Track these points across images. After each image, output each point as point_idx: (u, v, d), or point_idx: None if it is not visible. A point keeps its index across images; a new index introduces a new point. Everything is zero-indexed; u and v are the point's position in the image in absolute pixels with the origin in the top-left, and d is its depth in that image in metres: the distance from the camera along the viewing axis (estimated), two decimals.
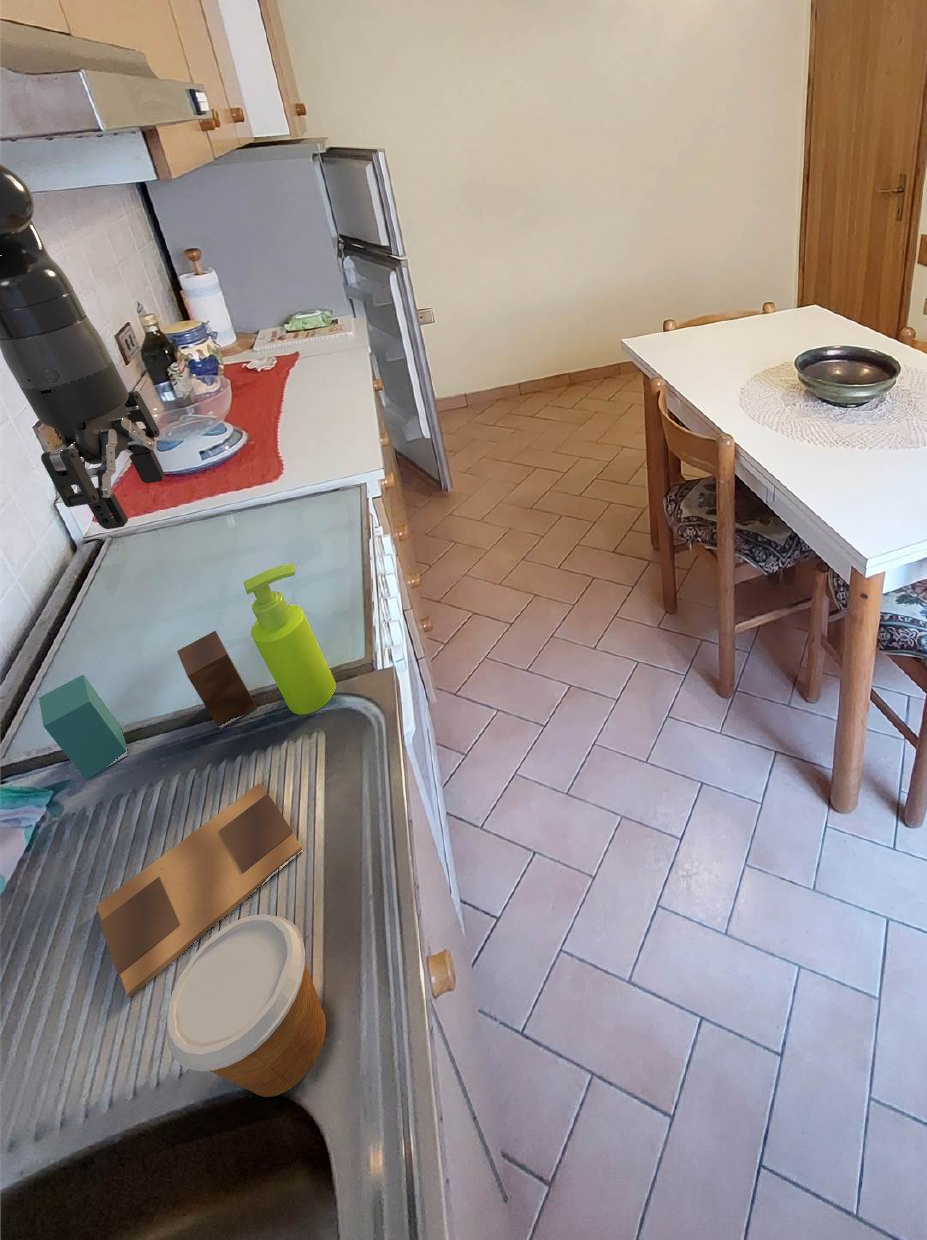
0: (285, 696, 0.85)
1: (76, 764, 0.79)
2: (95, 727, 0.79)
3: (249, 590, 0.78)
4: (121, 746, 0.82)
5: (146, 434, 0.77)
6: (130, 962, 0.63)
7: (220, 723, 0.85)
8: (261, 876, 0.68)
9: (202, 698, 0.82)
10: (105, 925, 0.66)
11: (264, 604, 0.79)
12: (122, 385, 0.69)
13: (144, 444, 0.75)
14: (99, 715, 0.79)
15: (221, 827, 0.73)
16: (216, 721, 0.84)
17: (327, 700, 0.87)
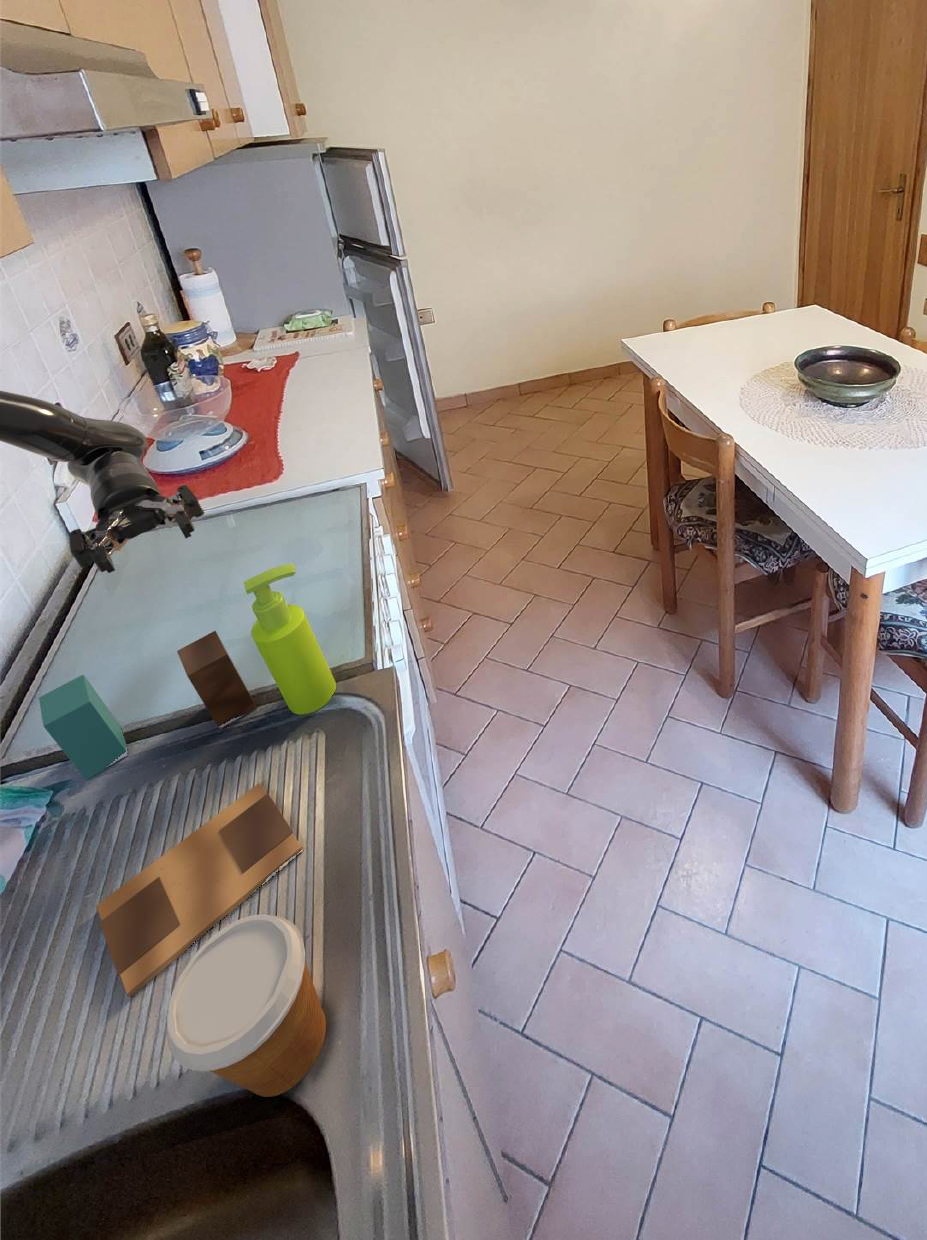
0: (285, 696, 0.85)
1: (76, 764, 0.79)
2: (95, 727, 0.79)
3: (249, 590, 0.78)
4: (121, 746, 0.82)
5: None
6: (130, 962, 0.63)
7: (220, 723, 0.85)
8: (261, 876, 0.68)
9: (202, 698, 0.82)
10: (105, 925, 0.66)
11: (264, 604, 0.79)
12: None
13: (112, 552, 0.87)
14: (99, 715, 0.79)
15: (221, 827, 0.73)
16: (216, 721, 0.84)
17: (327, 700, 0.87)
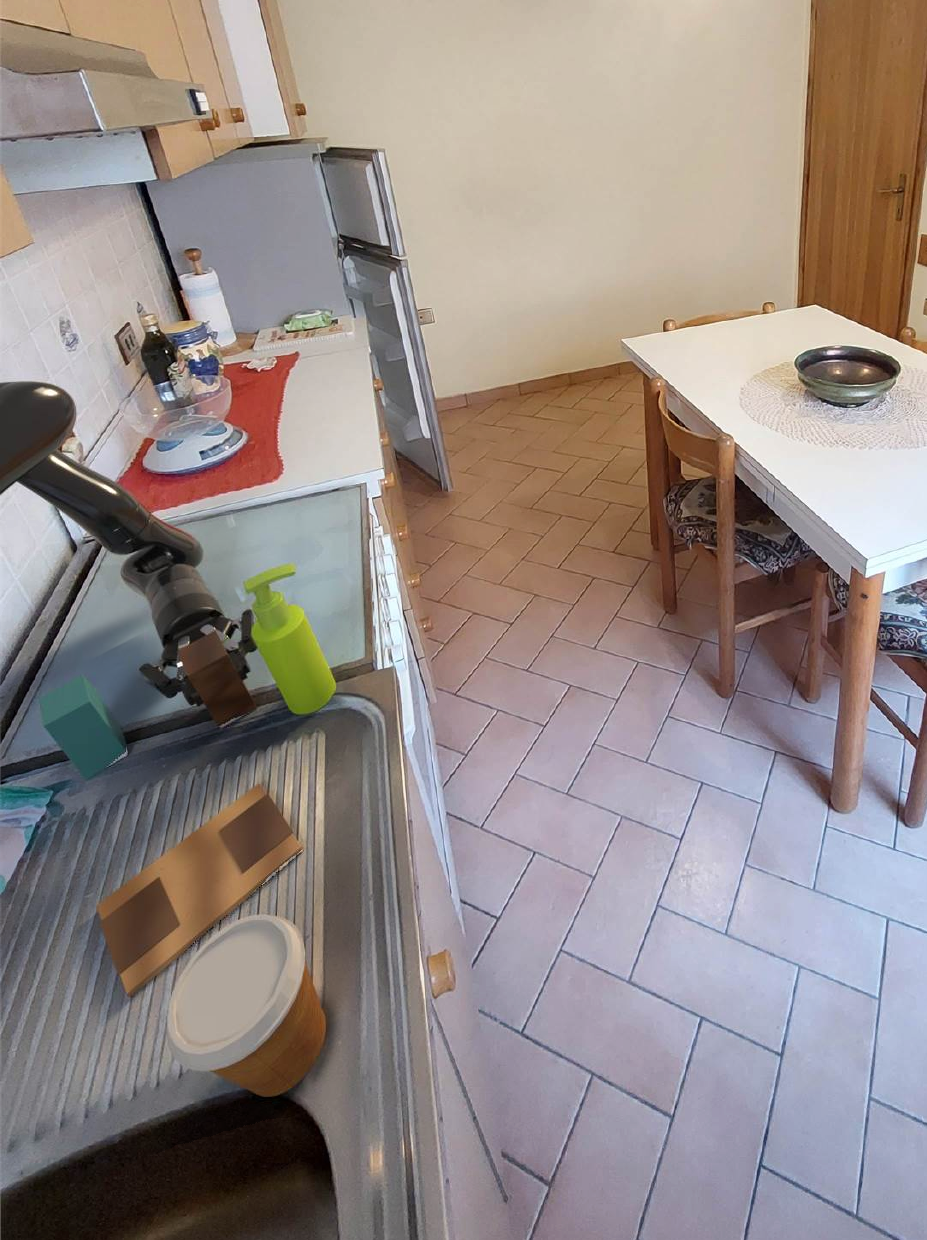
0: (285, 696, 0.85)
1: (76, 764, 0.79)
2: (95, 727, 0.79)
3: (249, 590, 0.78)
4: (121, 746, 0.82)
5: None
6: (130, 962, 0.63)
7: (220, 723, 0.85)
8: (261, 876, 0.68)
9: (202, 698, 0.82)
10: (105, 925, 0.66)
11: (264, 604, 0.79)
12: None
13: None
14: (99, 715, 0.79)
15: (221, 827, 0.73)
16: (216, 721, 0.84)
17: (327, 700, 0.87)
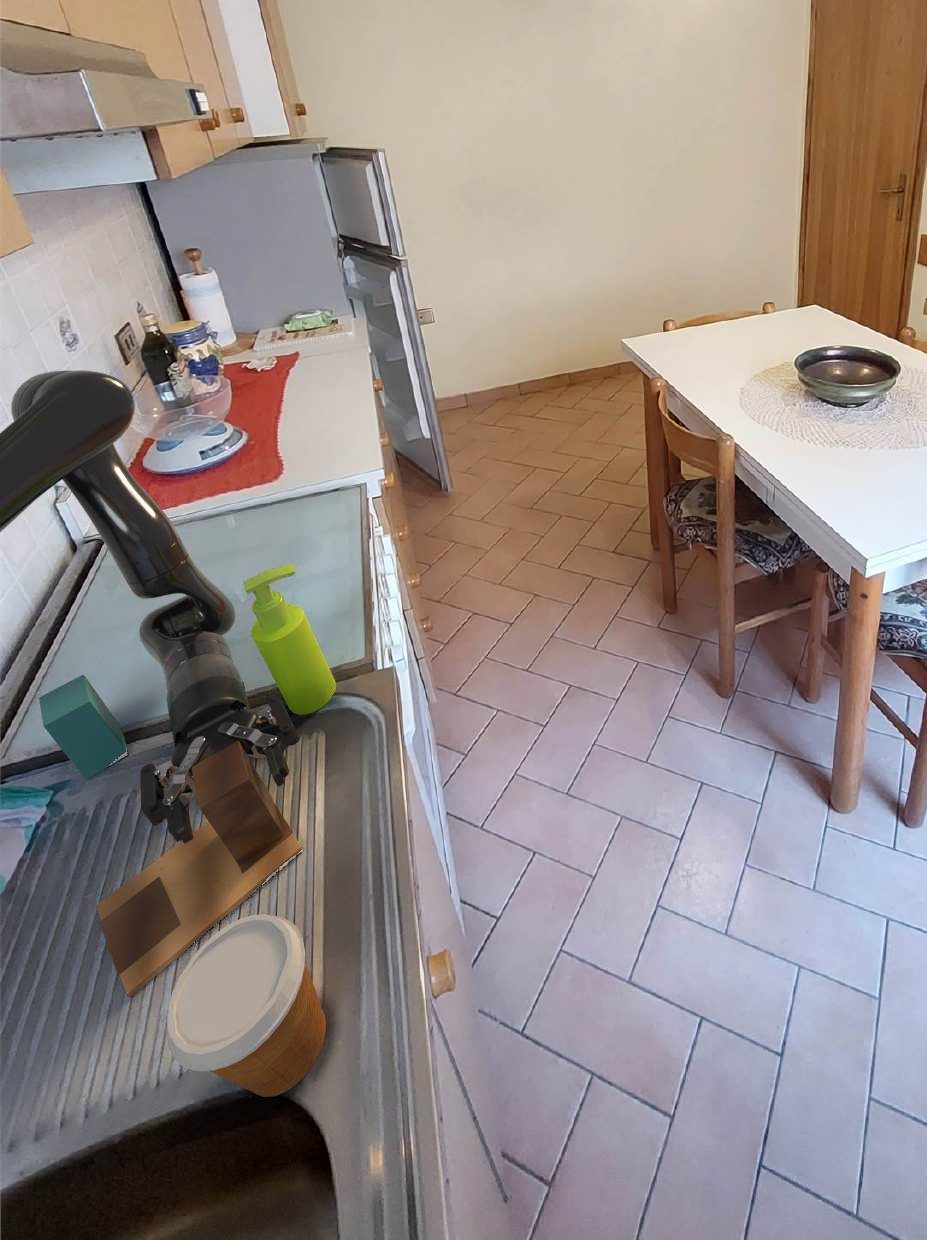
0: (285, 696, 0.85)
1: (76, 764, 0.79)
2: (95, 727, 0.79)
3: (249, 590, 0.78)
4: (121, 746, 0.82)
5: None
6: (130, 962, 0.63)
7: (239, 857, 0.69)
8: (261, 876, 0.68)
9: (217, 831, 0.67)
10: (105, 925, 0.66)
11: (264, 604, 0.79)
12: None
13: (190, 800, 0.70)
14: (99, 715, 0.79)
15: None
16: (234, 856, 0.69)
17: (327, 700, 0.87)
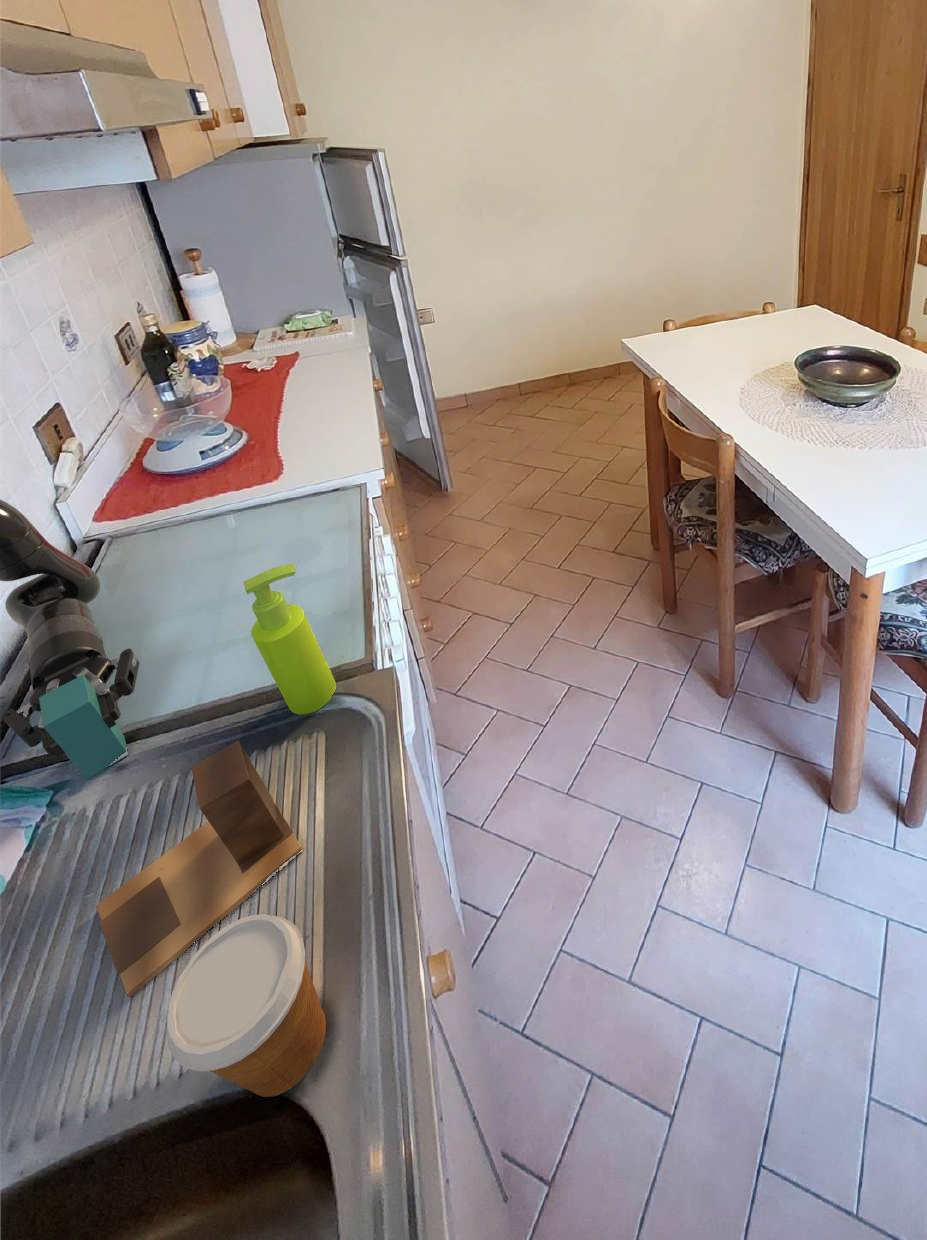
0: (285, 696, 0.85)
1: (76, 764, 0.79)
2: (95, 727, 0.79)
3: (249, 590, 0.78)
4: (121, 746, 0.82)
5: None
6: (130, 962, 0.63)
7: (239, 857, 0.69)
8: (261, 876, 0.68)
9: (217, 831, 0.67)
10: (105, 925, 0.66)
11: (264, 604, 0.79)
12: None
13: None
14: (99, 715, 0.79)
15: None
16: (234, 856, 0.69)
17: (327, 700, 0.87)
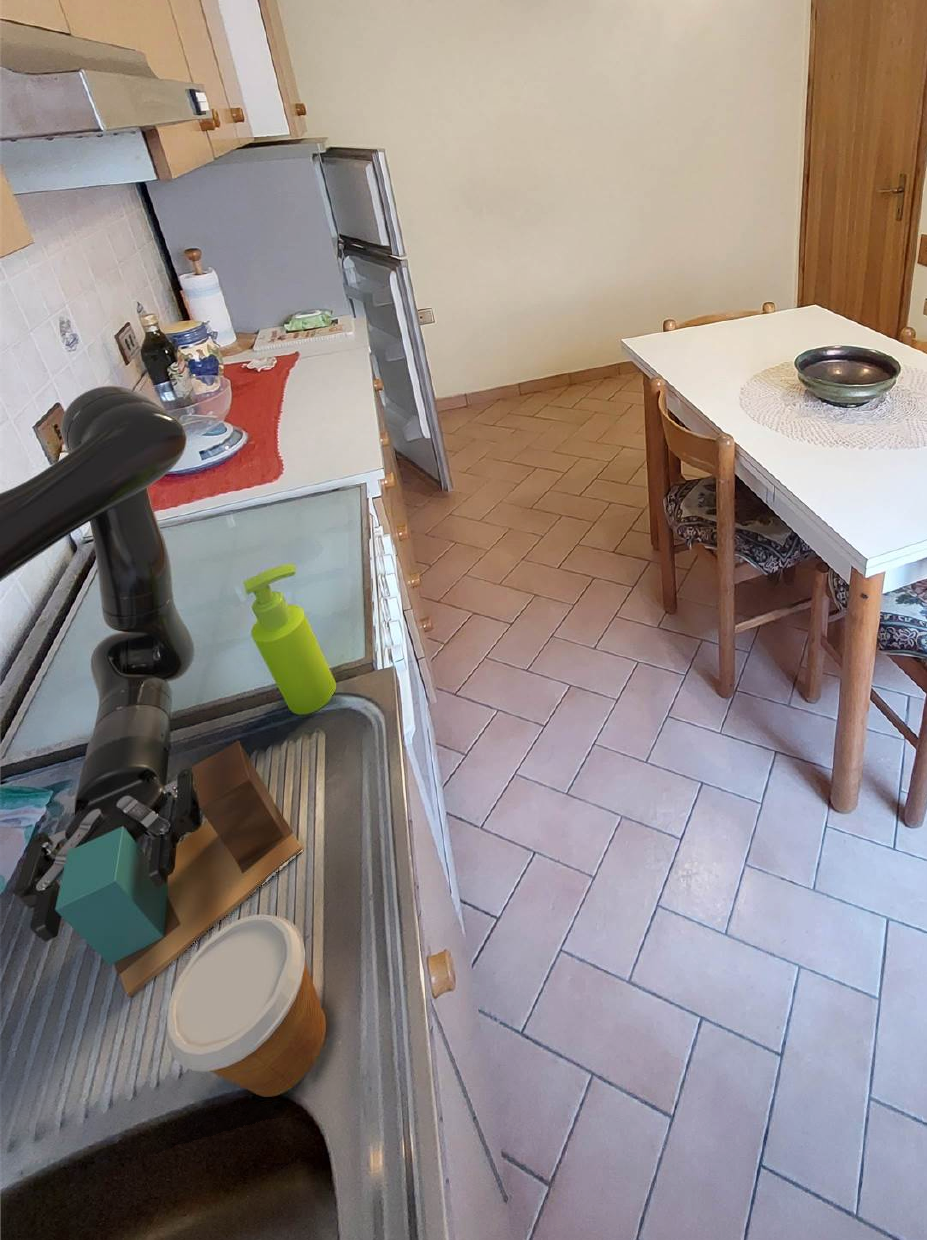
0: (285, 696, 0.85)
1: (97, 949, 0.61)
2: (121, 908, 0.61)
3: (249, 590, 0.78)
4: (154, 928, 0.63)
5: None
6: (130, 962, 0.63)
7: (239, 857, 0.69)
8: (261, 876, 0.68)
9: (217, 831, 0.67)
10: None
11: (264, 604, 0.79)
12: None
13: None
14: (127, 895, 0.61)
15: None
16: (234, 856, 0.69)
17: (327, 700, 0.87)
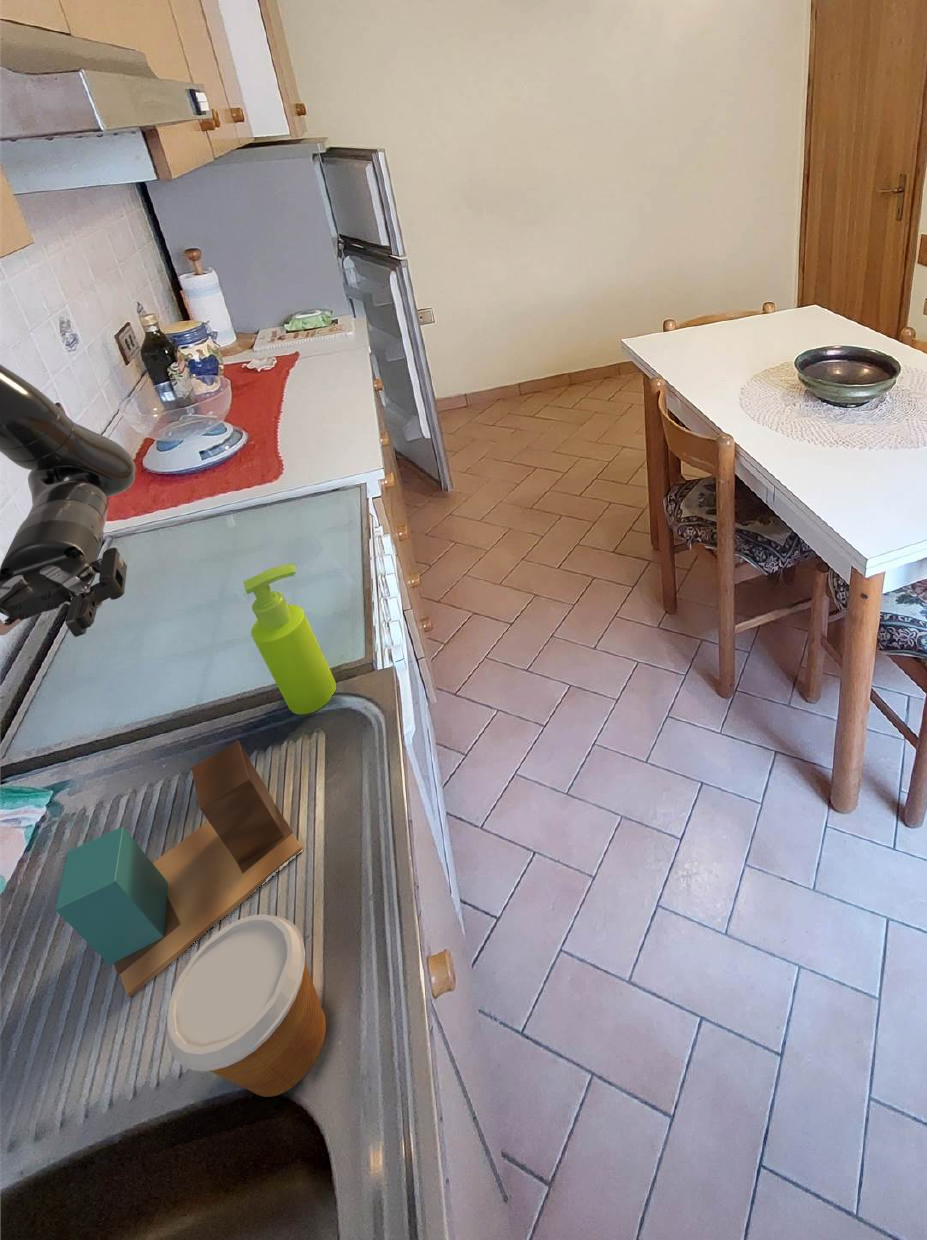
0: (285, 696, 0.85)
1: (97, 949, 0.61)
2: (121, 908, 0.61)
3: (249, 590, 0.78)
4: (154, 928, 0.63)
5: None
6: (130, 962, 0.63)
7: (239, 857, 0.69)
8: (261, 876, 0.68)
9: (217, 831, 0.67)
10: None
11: (264, 604, 0.79)
12: None
13: None
14: (127, 895, 0.61)
15: None
16: (234, 856, 0.69)
17: (327, 700, 0.87)
